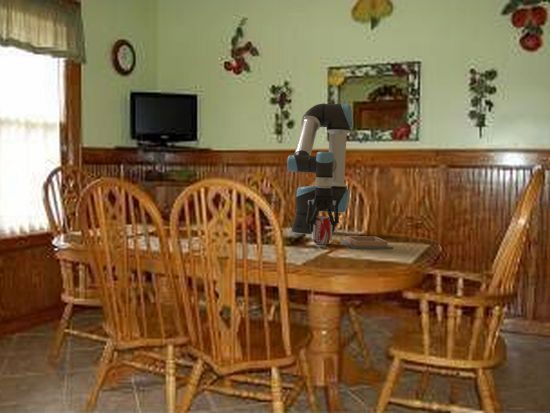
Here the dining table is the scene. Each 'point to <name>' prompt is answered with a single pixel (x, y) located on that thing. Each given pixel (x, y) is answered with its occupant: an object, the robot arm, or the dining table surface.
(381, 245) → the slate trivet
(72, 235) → the dining table surface
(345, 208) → the robot arm
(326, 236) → the soda can
